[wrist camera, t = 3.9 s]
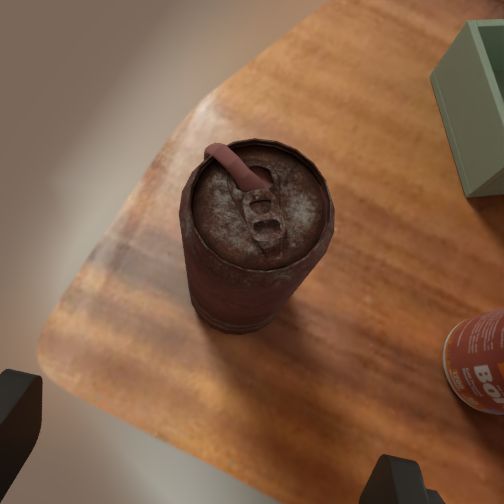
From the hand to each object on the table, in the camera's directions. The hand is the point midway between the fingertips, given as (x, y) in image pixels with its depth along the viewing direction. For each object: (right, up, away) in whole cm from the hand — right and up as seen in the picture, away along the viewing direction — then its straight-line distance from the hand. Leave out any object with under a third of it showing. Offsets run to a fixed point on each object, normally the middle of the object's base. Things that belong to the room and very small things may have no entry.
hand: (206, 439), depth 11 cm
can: (0, +2, +20) cm, 20 cm away
